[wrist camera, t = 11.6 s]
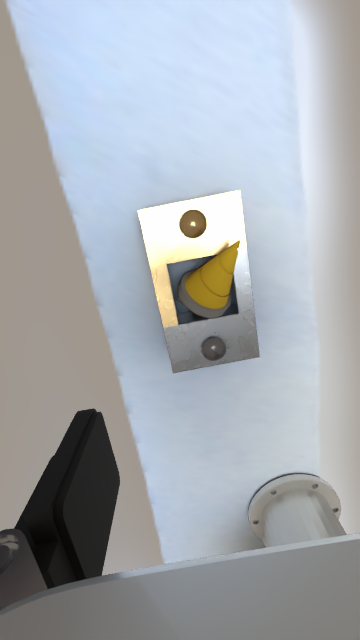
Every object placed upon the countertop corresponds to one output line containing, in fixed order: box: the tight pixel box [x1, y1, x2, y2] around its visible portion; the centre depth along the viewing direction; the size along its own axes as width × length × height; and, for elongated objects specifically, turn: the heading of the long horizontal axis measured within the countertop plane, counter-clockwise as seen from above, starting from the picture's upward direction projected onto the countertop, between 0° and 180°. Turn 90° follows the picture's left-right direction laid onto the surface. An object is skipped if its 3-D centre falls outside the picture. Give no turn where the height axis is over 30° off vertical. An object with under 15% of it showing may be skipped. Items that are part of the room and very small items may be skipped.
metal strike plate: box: [138, 190, 260, 373], centre depth 30 cm, size 16×9×5 cm, turn 11°
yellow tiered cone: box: [177, 240, 240, 318], centre depth 28 cm, size 5×5×10 cm
